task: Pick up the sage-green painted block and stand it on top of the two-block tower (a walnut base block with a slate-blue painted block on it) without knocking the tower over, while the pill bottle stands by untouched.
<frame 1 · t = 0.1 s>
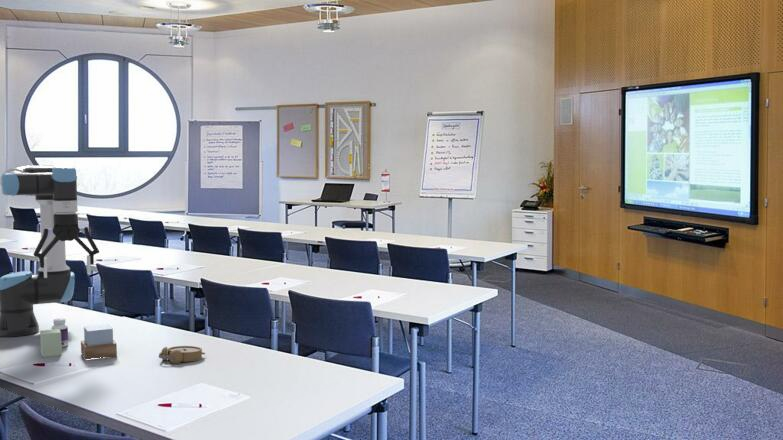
hand: (67, 276, 255), 28 cm above the table, fingers open, 13 cm apart
green block: (51, 354, 260), on the table
tower top: (98, 342, 258), point 5 cm above the table, touching tower base
tower base: (98, 356, 258), on the table, touching tower top
pill bottle: (60, 346, 272), on the table
alarm clock: (180, 360, 253), on the table
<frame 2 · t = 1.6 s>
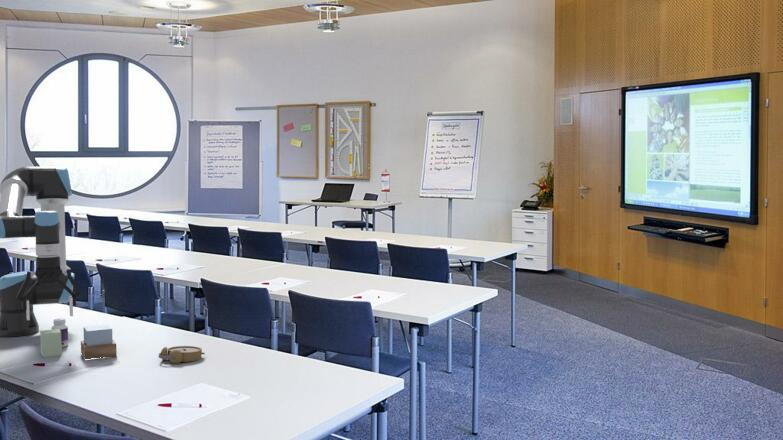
hand: (50, 317, 259), 13 cm above the table, fingers open, 13 cm apart
nothing on the table moved.
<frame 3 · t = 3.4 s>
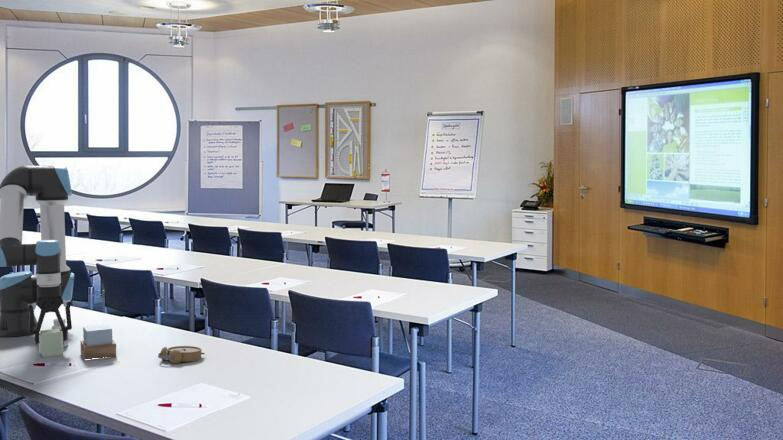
hand: (51, 351, 260), 1 cm above the table, fingers closed on green block, 6 cm apart
green block: (51, 354, 260), on the table, touching gripper
everything else where it was.
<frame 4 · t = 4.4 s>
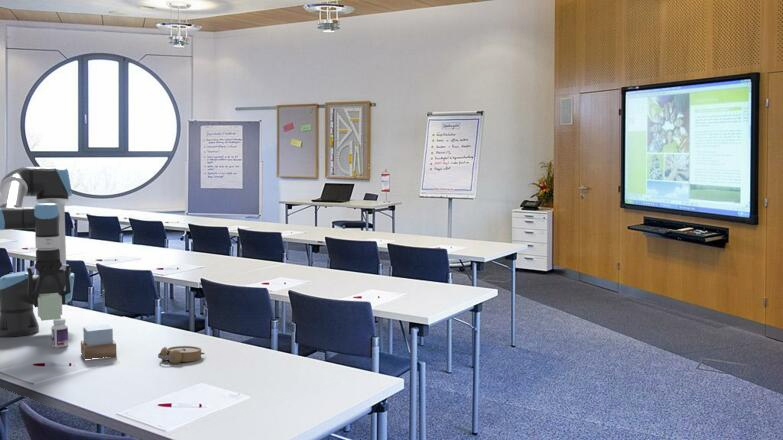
hand: (50, 315, 260), 14 cm above the table, fingers closed on green block, 6 cm apart
green block: (50, 317, 260), point 13 cm above the table, touching gripper
everything else where it was.
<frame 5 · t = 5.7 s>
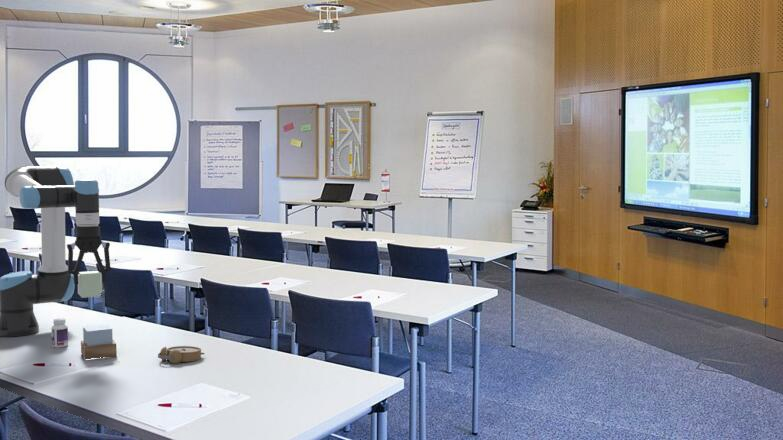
hand: (90, 292, 257), 22 cm above the table, fingers closed on green block, 6 cm apart
green block: (90, 295, 257), point 21 cm above the table, touching gripper
everything else where it was.
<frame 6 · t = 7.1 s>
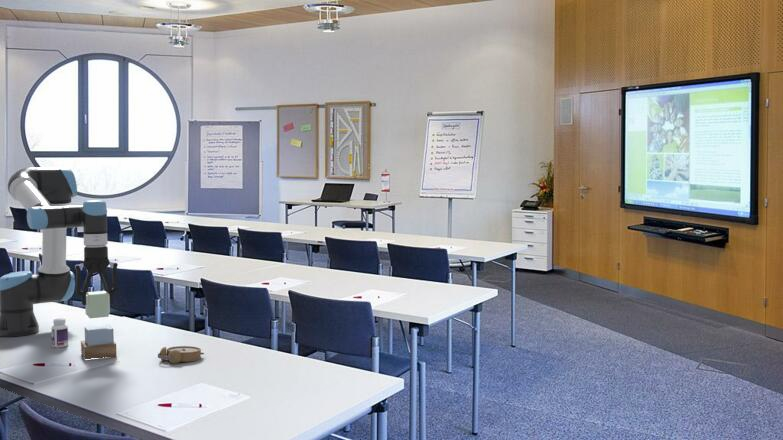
hand: (97, 313, 257), 15 cm above the table, fingers closed on green block, 6 cm apart
green block: (97, 316, 257), point 14 cm above the table, touching gripper
everything else where it was.
when the fingers open (11 cm above the table, at t = 8.1 s): green block stays where it is, point 10 cm above the table.
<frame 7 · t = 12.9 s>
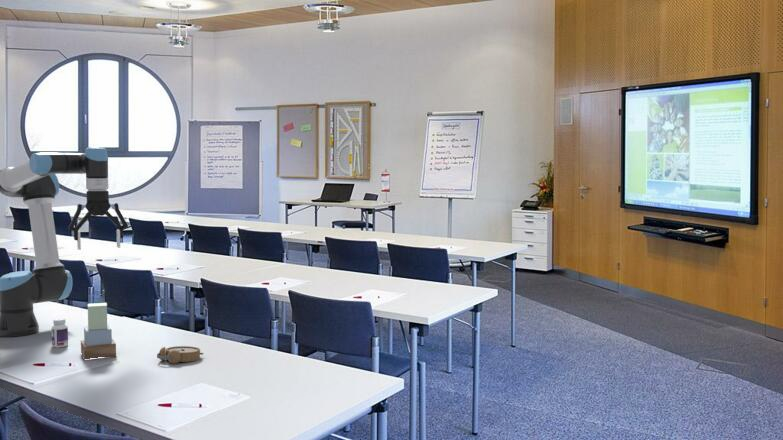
hand: (99, 248, 275), 35 cm above the table, fingers open, 13 cm apart
green block: (97, 327, 257), point 10 cm above the table
everything else where it was.
at the end: green block point 9.7 cm above the table; green block 0.1 cm from the tower top (horizontally); tower top tilted 0° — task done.
